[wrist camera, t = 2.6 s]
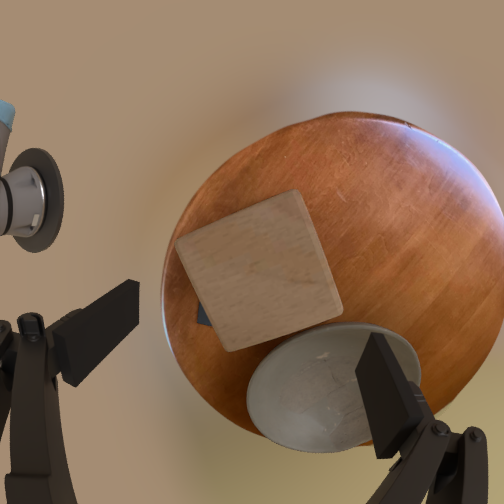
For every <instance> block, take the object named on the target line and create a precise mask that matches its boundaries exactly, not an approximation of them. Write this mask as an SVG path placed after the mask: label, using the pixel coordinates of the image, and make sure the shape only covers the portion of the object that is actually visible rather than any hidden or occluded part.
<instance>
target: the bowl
mask: <svg viewBox="0 0 504 504" xmlns="http://www.w3.org/2000/svg"><path fill="white" fill-rule="evenodd" d="M371 332H375V333H382V334H384V336H385V338H386V340H387V342H388V344H389V346H390V347H391V349H392V351H393V353H394V355H395V357H396V359H397V361H398V363H399V365H400V366H401V368H402V370H403V372H404V374H405V376H406V378H407V380H408V381H413V382H414V383H415V384H416V385H417V386H418V387H419V386H420V381H421V369H420V364H419V360H418V357H417V354H416V352H415V350H414V349H413V347H412V346H411V344H410V343H409V342H408V341H407V340H406V339H404V338H403V337H402V336H400V335H399V334H397V333H395V332H393V331H391V330H389V329H386V328H384V327H381V326H378V325H375V324H370V323H363V322H338V323H331V324H326V325H322V326H318V327H315V328H311V329H308V330H306V331H303V332H301V333H298V334H296V335H294V336H292V337H290V338H288V339H287V340H285V341H284V342H282V343H281V344H279V345H278V346H277V347H275V348H274V349H273V350H272V351H271V352H270V353H269V354H268V355H267V356H266V357H265V358H264V359H263V360H262V361H261V362H260V364H259V365H258V367H257V368H256V370H255V371H254V373H253V375H252V377H251V379H250V382H249V385H248V389H247V409H248V412H249V415H250V417H251V419H252V421H253V423H254V425H255V426H256V427H257V429H258V430H259V431H260V432H261V433H262V434H263V435H264V436H265V437H267V438H268V439H270V440H271V441H273V442H274V443H276V444H278V445H281V446H284V447H286V448H289V449H293V450H297V451H303V452H311V453H334V452H340V451H344V450H348V449H350V448H353V447H355V446H357V445H359V444H361V443H365V442H367V441H369V440H371V439H372V435H371V431H370V427H369V423H368V419H367V415H366V411H365V407H364V404H363V400H362V396H361V392H360V389H359V385H358V382H357V378H356V374H355V369H356V367H357V365H358V362H359V360H360V358H361V355H362V353H363V351H364V348H365V346H366V343H367V341H368V339H369V336H370V334H371Z"/></svg>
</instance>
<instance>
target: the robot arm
mask: <svg viewBox="0 0 504 504" xmlns="http://www.w3.org/2000/svg"><path fill="white" fill-rule="evenodd" d="M14 116H15V108H14V106H13V105H12V104H10V103H7V102H5V101H2V100H0V236H2V235H13V236H19V237H30V236H33V235H35V234H37V233H38V232H39V231H40V230H41V229H42V227H43V225H44V222H45V220H46V216H47V209H48V194H47V188H46V184H45V181H44V178H43V176H42V174H41V173H40V171H39V170H38V169H37V168H35V167H33V166H23V167H20V168H18V169H16V170H14V171H12V172H10V173H8V174H6V175H4V176H2V177H1V172H2V166H3V161H4V156H5V151H6V147H7V143H8V139H9V135H10V132H11V131H12V124H13V120H14ZM139 284H140V282H137V281H134V280H130V279H128V280H126V281H125V282H123V283H122V284H120V285H118V286H117V287H115V288H114V289H112V290H111V291H109V292H108V293H106V294H105V295H103V296H102V297H100V298H99V299H97V300H96V301H94V302H93V303H91V304H90V305H89V306H87V307H86V308H84V309H76V310H74V311H71V312H69V313H68V314H66V315H65V317H64V316H63V317H62V318H61V319H60V320H58V321H56V322H55V323H53V324H52V325H50V326H49V327H47V328H46V329H45V327H44V322H43V317H42V316H41V315H40V314H38V313H33V312H30V313H25V314H22V315H21V316H19V317H18V319H17V324H18V328H19V332H20V334H19V333H16V332H12V328H11V324H10V323H9V322H8V321H5V320H0V441H1V437H2V434H3V430H4V427H5V423H6V420H7V417H8V414H9V411H10V408H11V413H10V458H11V472H10V473H9V474H6V475H5V491H6V499H7V504H77V501H76V497H75V493H74V490H73V486H72V482H71V478H70V473H69V469H68V464H67V459H66V454H65V448H64V442H63V435H62V428H61V419H60V410H59V397H58V381H57V377H56V375H57V374H58V373H59V372H61V374H62V378H63V381H65V382H66V383H68V384H70V385H72V386H73V387H77V386H78V385H79V384H80V383H81V382H82V381H83V380H84V379H85V378H86V377H87V376H88V374H89V373H90V372H91V371H92V370H93V369H94V368H95V367H96V366H97V365H98V364H99V363H100V362H101V361H102V360H103V359H104V358H105V357H106V356H107V355H108V354H109V353H110V352H111V351H112V350H113V349H114V348H115V347H116V346H117V345H118V344H119V343H120V342H121V341H122V340H123V339H124V338H125V337H126V336H127V335H128V334H129V333H130V332H131V331H132V330H133V329H134V328H135V327H136V326H137V325H138V324H139ZM355 374H356V378H357V382H358V385H359V389H360V392H361V396H362V400H363V404H364V407H365V411H366V415H367V419H368V423H369V427H370V431H371V435H372V440H373V444H374V448H375V453H376V457H377V459H388V458H393V456H394V455H395V454H396V453H397V452H398V451H399V452H400V455H401V457H400V458H399V459H398V461H396V463H395V464H394V465H393V466H392V467H391V468H390V469H389V471H390V472H389V474H388V475H387V477H386V478H385V479H384V481H383V482H382V483H381V485H380V486H379V488H378V489H377V490H376V492H375V493H374V494H373V496H372V497H371V498H370V499H369V500H368V502H367V503H366V504H421V502H422V501H423V499H424V497H425V495H426V493H427V491H428V489H429V491H428V496H427V500H426V504H487V503H488V454H487V440H486V436H485V434H484V432H483V431H482V430H481V429H479V428H477V427H473V426H471V427H468V428H467V429H466V430H465V431H464V433H463V434H459V433H453V432H451V430H450V428H449V426H448V425H446V423H444V422H443V421H440V420H435V418H434V416H433V414H432V412H431V410H430V408H429V406H428V404H427V402H426V400H425V398H424V396H423V394H422V392H421V390H420V388H419V387H418V386H417V385H416V384H415V383H414V382H413V381H408V380H407V378H406V376H405V374H404V372H403V370H402V368H401V366H400V365H399V363H398V361H397V359H396V357H395V355H394V353H393V351H392V349H391V347H390V346H389V344H388V342H387V340H386V338H385V336H384V334H382V333H375V332H371V334H370V336H369V339H368V341H367V343H366V346H365V348H364V351H363V353H362V355H361V358H360V360H359V362H358V365H357V367H356V369H355Z"/></svg>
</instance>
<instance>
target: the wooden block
mask: <svg viewBox="0 0 504 504" xmlns="http://www.w3.org/2000/svg"><path fill="white" fill-rule="evenodd" d="M174 245H175V249H176V251H177V253H178V255H179V258H180V260H181V262H182V264H183V266H184V268H185V271H186V273H187V275H188V277H189V279H190V281H191V283H192V285H193V288H194V290H195V292H196V294H197V296H198V298H199V300H200V302H201V304H202V306H203V308H204V310H205V312H206V314H207V316H208V318H209V320H210V322H211V324H212V326H213V328H214V330H215V332H216V334H217V336H218V338H219V339H220V341H221V343H222V345H223V347H224V349H225V350H226V351H227V352H232V351H236V350H239V349H243V348H246V347H249V346H253V345H256V344H259V343H262V342H265V341H269V340H272V339H275V338H278V337H281V336H284V335H287V334H290V333H293V332H296V331H299V330H301V329H304V328H307V327H310V326H313V325H315V324H318V323H321V322H324V321H326V320H329V319H332V318H334V317H337V316H339V315H341V314H342V313H343V305H342V302H341V299H340V296H339V293H338V290H337V287H336V285H335V282H334V279H333V276H332V273H331V270H330V268H329V265H328V262H327V259H326V257H325V254H324V251H323V249H322V246H321V243H320V241H319V238H318V235H317V233H316V230H315V228H314V225H313V223H312V220H311V218H310V215H309V213H308V210H307V208H306V205H305V203H304V200H303V198H302V195H301V193H300V192H299V191H298V190H297V189H291V190H288V191H286V192H283V193H281V194H278V195H276V196H274V197H271V198H269V199H266V200H264V201H262V202H259V203H257V204H254V205H252V206H250V207H247V208H245V209H243V210H240V211H238V212H236V213H233V214H231V215H229V216H227V217H224V218H222V219H220V220H217V221H215V222H213V223H211V224H208V225H206V226H204V227H202V228H200V229H197V230H195V231H193V232H191V233H188V234H186V235H184V236H182V237H180V238H178V239H177V240H176V241H175V243H174Z"/></svg>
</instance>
